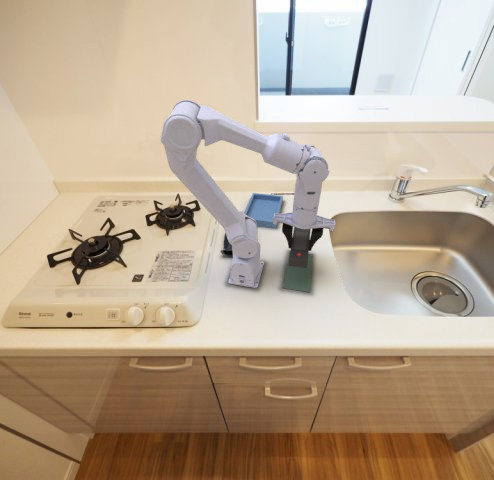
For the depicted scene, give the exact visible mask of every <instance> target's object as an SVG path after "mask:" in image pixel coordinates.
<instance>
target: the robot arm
mask: <svg viewBox="0 0 494 480" xmlns="http://www.w3.org/2000/svg"><path fill="white" fill-rule="evenodd" d="M202 140H204V147H208V146H211V145H213V144H216V143H218V142H221V141H223V142H226V143H229V144H232V145H235V146H238V147H241V148H244V149H246V150H249V151H252V152H255V153H256V154H260V155H261V157H262V161H263V162H264V163H265V164H268V165H271V166H273V167H276V168H278V169H280V170H283V171H285V172H288V173H291V174H293V175H296V177H295V184H294V193H293V203H292V211H291V212H283V213H282V212H280V214H279V213H274V217H273V224H277V225H278V224H282V225H281V226H282V227H281V233H282V234H283V235H284V237H285V239H286V242H287V247H288V249H291V243H292V237H293V231H294V227H297V228H300V229H311V232H310V243H309V252H312V249H313V247H314V246H315V245H316V243H317V242H318V241H319V240H320V239H321V238H322V237H323V235H324V229H326V230H329V231H331V232H334V231H335V227H336V220H335V219H332V218H327V217H324V216H321V215H319V214H318V212H319V205H320V200H321V194H322V189H323V182H324V181H326V179H327V178H328V176H329V174H330V170H329V164H328V161H327V160H326V158H325V157H324V155H323V153H322V152H321V151H320V150H319V149H318V148H317V147H315V145H313V144H307V143H305V145H304V144H301V143H299V142H297V141H295V140H293V139H291V137H290V134H288V133H286V132H282V134H280V133H277V132H275V133H271V134H270V135H265V134H264V133H261V132H258V131H257V130H255V129H253V128H251V127H249V126H247V125H245V124H243V123H242V122H239V121H237V120H235V119H233V118H231V117H229V116H227V115H225V114H223V113H221V112H219V111H217V110H215V109H214V108H212V107H210V106H208V105H204V104H201V105H200V104H199V103H197V102H196V101H194V100H192V99H182V100H179V101H178V102H176V103H175V105H173V108H172V111H171V113H170V114H169V115H168V116H167V118H166V119H165V120H164V122H163V125H162V129H161V136H160V142H161V144H162V145H163V148H164V151H165V156H166V159H167V164H168V168H169V169H170V171H171V172H172V173H173V174H174V176H176V177H177V179H178V180H179V181H180V182H181V183H182V184H183V186H184V187H185V188H186V189H187V190H188V191H189V192H190V193H191V194H192V195H193V196H194V197H195V199H196V200H197V201H198V202H199V203H200V204H201V205H202V206H203V207H204V209H205V210H206V211H207V212H208V214H210V215H211V216H212V217H213V218H214V219H215V220H216V222H218V224H219V225H220V226H221V227H222V228H223V230H224V232H225V233H226V236H227V239H228V241H229V243H230V244H231V245H232V251H233V256H232V262H231V264H230V267H229V271H230V276H229V277H228V278H229V279H228V284H230V285H236V286H242V287H247V288H253V289H254V288H255V289H257V288H258V287H259V283H260V280H261V277H262V272H263V268H264V265H265V262H264V261H263V260H261V243H260V241H259V235H258V226H257V223H256V221H255V220H254V219H253V218H251V217H249V216H247V215H246V214H245V213H244V212H245V211H243V210H241V211H240V210H239V209H238V207H236V205H234V203H233V202H232V201H231V199H230V198H229V197H228V196H227V195H226V193H225V192H224V191H223V189H222V188H221V187H220V186H219V185H218V183H217V182H216V180H214V179H213V177H212V176H211V175H210V174H209V172H208V171H207V169H206V168H204V166H203V165H202V164H201V162H200V161H199V159H197V156H198V148H199V146H200V145H201V142H202ZM225 233H224V234H225Z"/></svg>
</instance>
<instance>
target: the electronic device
mask: <svg viewBox="0 0 494 480" xmlns="http://www.w3.org/2000/svg"><path fill="white" fill-rule="evenodd" d="M220 253H221V255H222V257H233V251H232V245H231V244H230V243H229V241H228V239H227V236H226V233H224V237H223V249H220Z"/></svg>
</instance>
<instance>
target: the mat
mask: <svg viewBox="0 0 494 480" xmlns="http://www.w3.org/2000/svg"><path fill="white" fill-rule="evenodd" d="M289 256H290V250H289V251H288V256H287V260H286V261H287V263H286V269H285V274H284V279H283V285H282V289H285V290H293V291H298V292H304V293H311V287H312V272H313V271H312V270H313V259H314V254H313V253H309V255H308V264H307V268H300V267H293V266H288V264H289Z"/></svg>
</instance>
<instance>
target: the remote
mask: <svg viewBox="0 0 494 480" xmlns="http://www.w3.org/2000/svg"><path fill="white" fill-rule="evenodd" d="M311 232H312V229H300V228H297V227H294V226H293V232H292V243H291V248H290V250H289V251H290V256H289V255H288V256H289V264H288V266H293V267H300V268H307V264H308V255H309V254H310V253H309V252H310V251H309V243H310V237H311Z"/></svg>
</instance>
